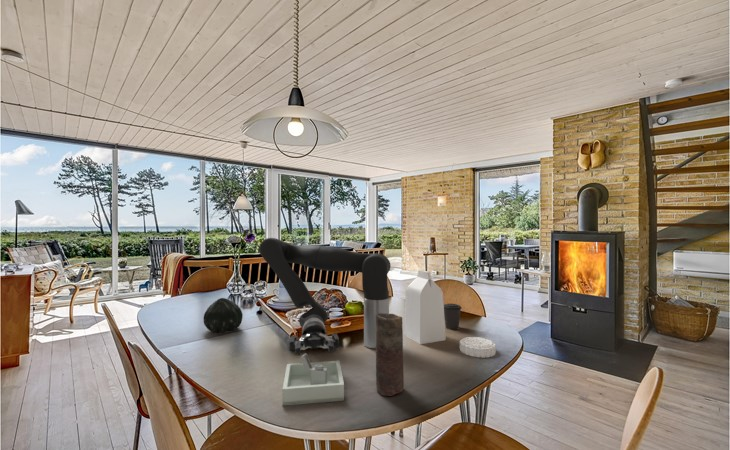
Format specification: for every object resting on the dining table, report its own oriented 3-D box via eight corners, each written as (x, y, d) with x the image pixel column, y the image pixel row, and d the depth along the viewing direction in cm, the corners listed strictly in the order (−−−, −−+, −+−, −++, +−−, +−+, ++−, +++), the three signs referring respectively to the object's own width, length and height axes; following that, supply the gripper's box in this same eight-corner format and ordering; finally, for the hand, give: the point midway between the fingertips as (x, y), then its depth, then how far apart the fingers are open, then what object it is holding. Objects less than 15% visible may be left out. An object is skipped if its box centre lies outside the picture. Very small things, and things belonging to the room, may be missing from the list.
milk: (403, 334, 134) (403, 270, 134) (427, 331, 138) (427, 268, 138) (419, 344, 123) (419, 273, 123) (445, 340, 127) (445, 272, 127)
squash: (234, 310, 151) (214, 289, 143) (254, 316, 142) (234, 294, 134) (211, 337, 143) (188, 316, 134) (231, 345, 134) (208, 324, 126)
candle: (374, 383, 92) (374, 311, 92) (400, 382, 92) (400, 310, 93) (377, 397, 84) (377, 318, 84) (406, 396, 85) (406, 318, 85)
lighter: (327, 384, 90) (327, 354, 90) (325, 387, 88) (325, 357, 88) (302, 382, 91) (302, 352, 91) (299, 385, 89) (299, 355, 89)
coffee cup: (464, 330, 139) (464, 306, 139) (444, 330, 139) (444, 306, 139) (458, 324, 147) (458, 302, 147) (440, 324, 147) (440, 302, 147)
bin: (339, 374, 98) (339, 360, 98) (344, 400, 83) (344, 384, 83) (287, 377, 95) (287, 363, 95) (282, 405, 81) (282, 389, 81)
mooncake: (466, 343, 124) (466, 333, 124) (500, 350, 117) (500, 340, 117) (454, 352, 115) (454, 342, 115) (489, 361, 108) (489, 350, 108)
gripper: (291, 321, 106) (288, 338, 90) (336, 319, 108) (340, 335, 92) (291, 345, 106) (288, 366, 90) (336, 342, 108) (340, 362, 92)
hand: (314, 350), depth 91 cm, fingers open, 8 cm apart
